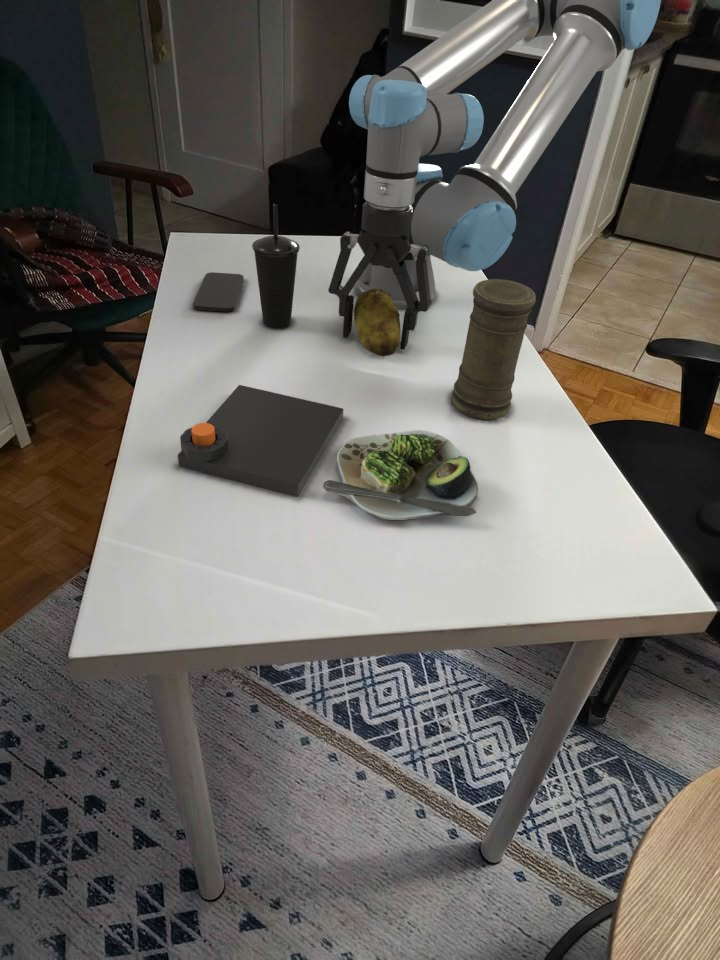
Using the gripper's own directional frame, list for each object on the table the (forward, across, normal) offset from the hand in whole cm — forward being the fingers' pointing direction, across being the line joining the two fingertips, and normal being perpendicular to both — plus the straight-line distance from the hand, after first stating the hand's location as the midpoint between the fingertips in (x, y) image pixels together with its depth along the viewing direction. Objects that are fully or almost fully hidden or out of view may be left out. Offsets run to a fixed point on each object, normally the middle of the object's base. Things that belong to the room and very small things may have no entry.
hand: (375, 340), depth 110 cm
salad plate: (+1, +14, -34) cm, 37 cm away
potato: (+1, 0, 0) cm, 1 cm away
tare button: (-3, -12, -40) cm, 41 cm away
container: (+1, +20, -12) cm, 23 cm away
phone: (+1, -32, +6) cm, 33 cm away
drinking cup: (+1, -18, 0) cm, 18 cm away
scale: (+1, -6, -33) cm, 34 cm away
